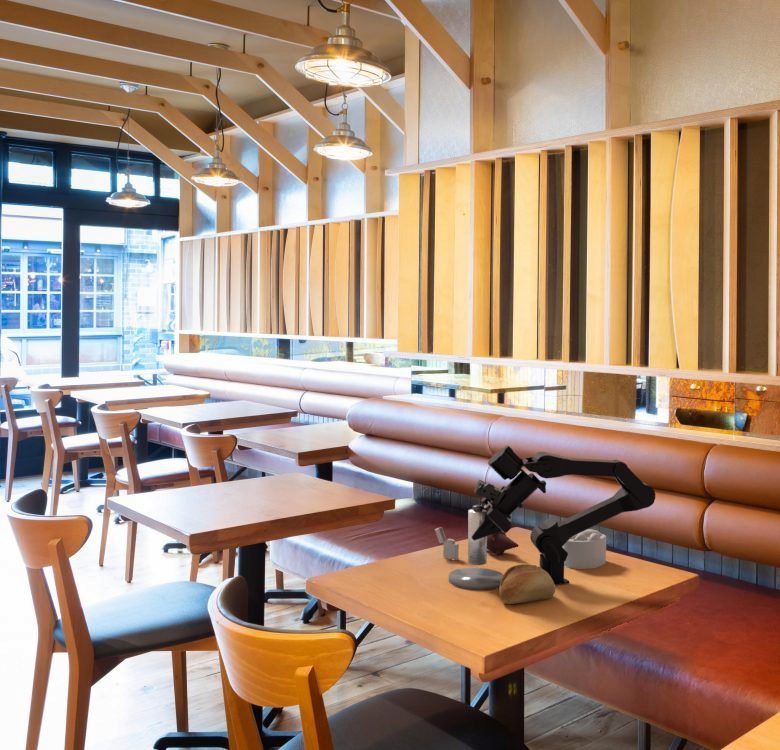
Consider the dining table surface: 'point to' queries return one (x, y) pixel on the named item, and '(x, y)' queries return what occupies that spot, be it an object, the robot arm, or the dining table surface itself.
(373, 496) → the dining table surface
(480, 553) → the pepper mill
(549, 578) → the bread roll
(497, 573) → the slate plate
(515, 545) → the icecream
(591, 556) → the lumpy-topped squat cylinder
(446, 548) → the lighter
